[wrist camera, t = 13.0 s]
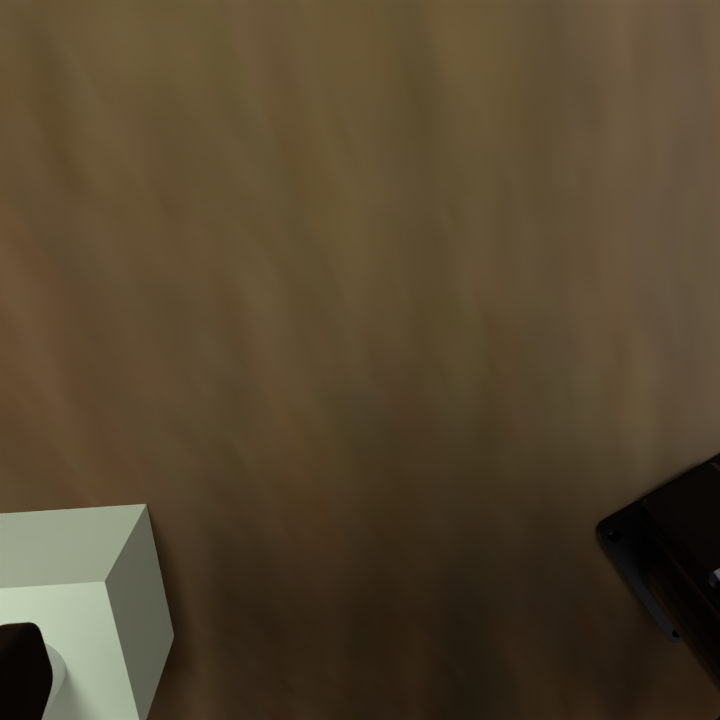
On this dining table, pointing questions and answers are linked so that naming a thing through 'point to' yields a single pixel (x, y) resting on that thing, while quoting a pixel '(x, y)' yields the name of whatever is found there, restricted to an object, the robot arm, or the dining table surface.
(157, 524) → the dining table surface
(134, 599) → the handle block
